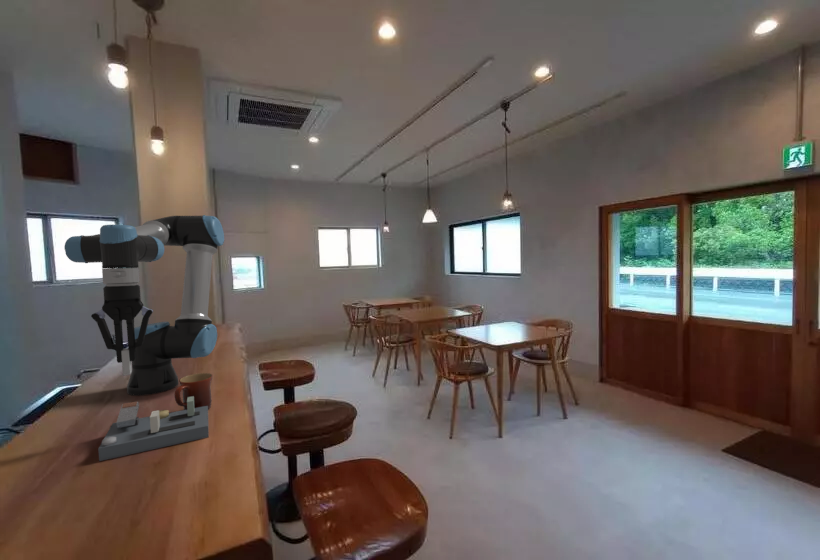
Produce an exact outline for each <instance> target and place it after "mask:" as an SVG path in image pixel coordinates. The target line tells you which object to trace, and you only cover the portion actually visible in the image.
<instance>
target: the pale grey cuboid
mask: <svg viewBox="0 0 820 560" xmlns="http://www.w3.org/2000/svg"><path fill="white" fill-rule="evenodd" d="M159 411H160V410H153V411H151V414H150V427H151V433H155V432H158V431H159V427H160V417H159Z"/></svg>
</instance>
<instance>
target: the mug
mask: <svg viewBox="0 0 820 560" xmlns="http://www.w3.org/2000/svg"><path fill="white" fill-rule="evenodd" d="M212 379H213V374H212V373H210V372H209V373H208V372H202V373H201V372H200V373H194V374H189V375H185V376H183V377H181V378H180V379H178V383H179V384H180V385H179V386H178V387H176V389H175V390H174V400H175V403H176V404H177V405H178V406H180V407H183V410H187V398H188V397H192V396H194V408H198V407H203V406H208V411H209V410H210V408H211V407H212V389H211V385H212ZM181 392H182V397H181ZM181 398H182V399H181Z"/></svg>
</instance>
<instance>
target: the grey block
mask: <svg viewBox="0 0 820 560" xmlns="http://www.w3.org/2000/svg"><path fill="white" fill-rule="evenodd" d="M194 411H195V409H194V396H192V397H188V398H187V412H188V416H193V415H194Z"/></svg>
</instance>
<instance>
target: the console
mask: <svg viewBox="0 0 820 560" xmlns="http://www.w3.org/2000/svg"><path fill="white" fill-rule="evenodd" d="M194 409H195V411H194V415H193V416H188V412H187V410H184V409H183V410H176V411H171V412H170V410H168V409H163V410H159V417H160V427H159V431H158V432H155V433H151V427H150V416H151V415H150V416H145V417H139V416H137V417H136V421H135V425H131V426H126V427H120V428H117V424H116V422H112V424H111V425H110V427H109V429H108V431H107V433H106V434H105V436H104V438H103V439H102V440H101V443H100V445H99V447H98V449H97V450H98V461H99V462H101V461H106V460H112V459H116V458H120V457H124V456H130V455H134V454H138V453H142V452H147V451H152V450H156V449H161V448H165V447H166V448H167V447H170V446H175V445H179V444H182V443H183V444H185V443H188V442H193V441H197V440H202V439H207V438H209V432H210V431H209V430H210V429H209V410H208V406H203V407H198V408H194Z"/></svg>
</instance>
